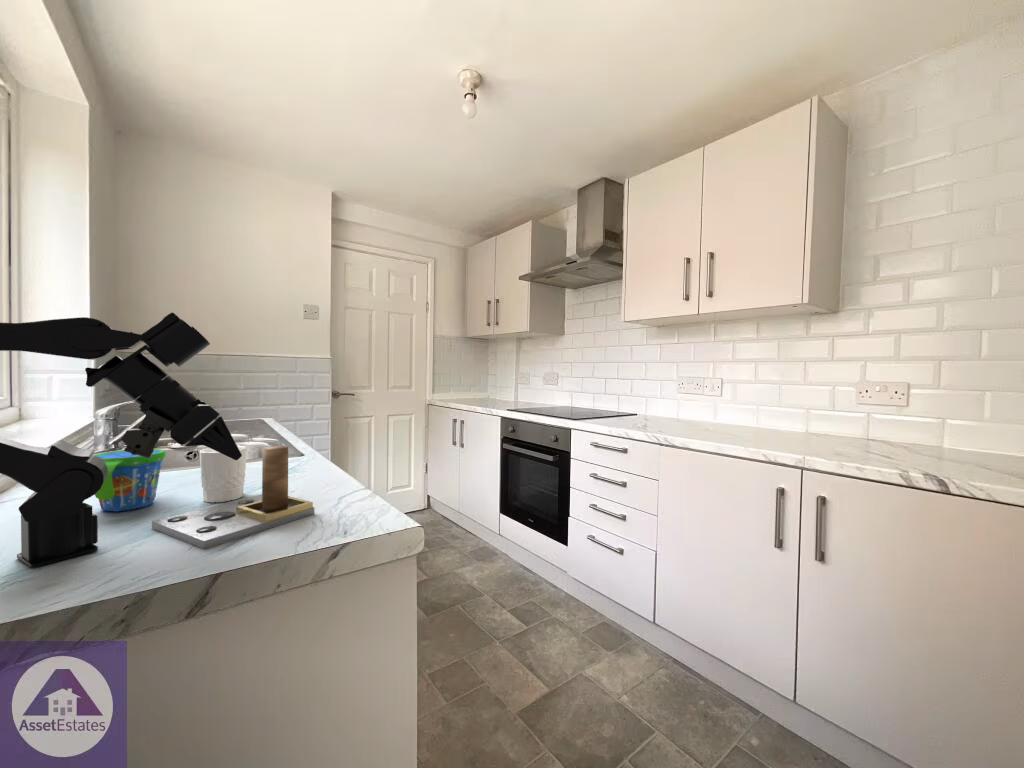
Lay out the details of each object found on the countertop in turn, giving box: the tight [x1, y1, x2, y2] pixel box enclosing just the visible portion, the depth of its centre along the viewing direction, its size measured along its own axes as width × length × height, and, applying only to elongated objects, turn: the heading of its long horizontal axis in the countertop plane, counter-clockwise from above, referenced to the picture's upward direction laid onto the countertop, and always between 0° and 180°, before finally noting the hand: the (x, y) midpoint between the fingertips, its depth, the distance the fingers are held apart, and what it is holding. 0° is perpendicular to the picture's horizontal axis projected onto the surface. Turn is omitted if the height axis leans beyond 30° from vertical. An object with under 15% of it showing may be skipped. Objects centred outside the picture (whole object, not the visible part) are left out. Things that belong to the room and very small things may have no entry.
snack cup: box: [93, 448, 166, 512], centre depth 80 cm, size 16×10×10 cm
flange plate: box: [151, 493, 315, 550], centre depth 73 cm, size 18×16×2 cm
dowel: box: [261, 445, 289, 513], centre depth 75 cm, size 4×4×11 cm
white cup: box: [199, 445, 248, 504], centre depth 86 cm, size 8×8×10 cm
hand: (235, 454), depth 71 cm, fingers open, 9 cm apart
